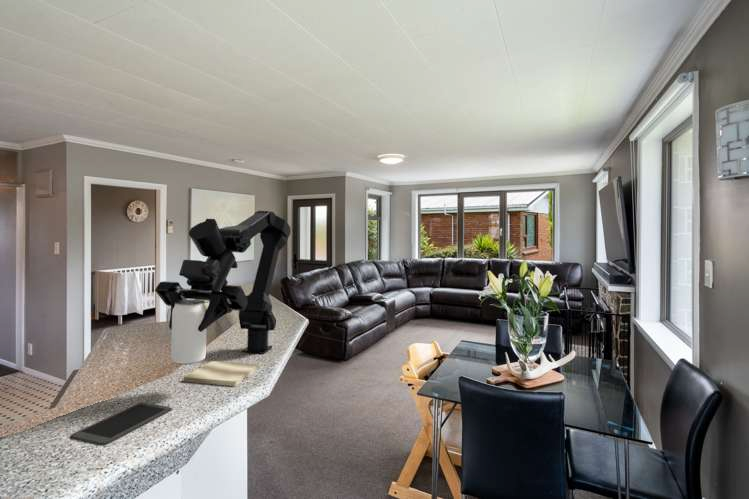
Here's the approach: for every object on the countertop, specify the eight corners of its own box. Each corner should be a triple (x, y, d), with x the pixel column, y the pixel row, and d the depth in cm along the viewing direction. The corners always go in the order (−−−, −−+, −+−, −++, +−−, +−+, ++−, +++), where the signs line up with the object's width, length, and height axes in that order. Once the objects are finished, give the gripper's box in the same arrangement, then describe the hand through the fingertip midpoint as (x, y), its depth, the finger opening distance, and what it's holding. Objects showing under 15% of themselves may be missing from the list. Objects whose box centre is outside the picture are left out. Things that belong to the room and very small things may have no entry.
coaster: (212, 364, 99) (213, 360, 99) (258, 368, 98) (258, 364, 97) (183, 381, 87) (183, 376, 87) (235, 386, 86) (235, 381, 86)
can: (192, 366, 78) (194, 305, 77) (163, 363, 79) (164, 303, 79) (212, 357, 84) (213, 300, 84) (185, 354, 85) (186, 298, 85)
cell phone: (67, 440, 62) (67, 435, 62) (142, 405, 75) (142, 401, 75) (104, 448, 60) (104, 443, 60) (174, 411, 73) (174, 407, 73)
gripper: (161, 244, 86) (122, 303, 75) (243, 248, 84) (214, 309, 73) (183, 277, 94) (149, 334, 84) (258, 281, 92) (233, 341, 81)
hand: (185, 329), depth 80 cm, fingers closed on can, 6 cm apart
